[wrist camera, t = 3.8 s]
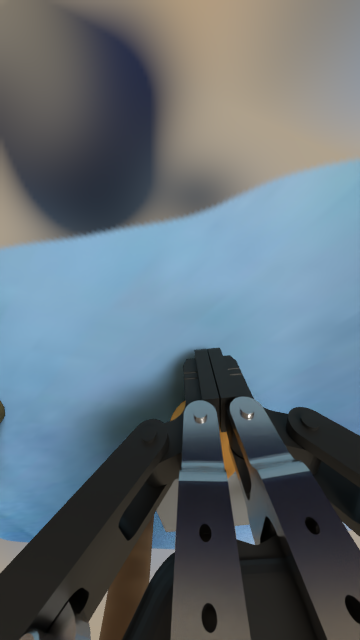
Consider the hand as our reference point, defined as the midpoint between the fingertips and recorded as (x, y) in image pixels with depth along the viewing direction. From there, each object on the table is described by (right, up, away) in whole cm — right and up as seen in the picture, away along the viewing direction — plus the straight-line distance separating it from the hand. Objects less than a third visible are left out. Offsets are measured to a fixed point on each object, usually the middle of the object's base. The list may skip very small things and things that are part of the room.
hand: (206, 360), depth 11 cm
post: (-5, -12, +7) cm, 15 cm away
